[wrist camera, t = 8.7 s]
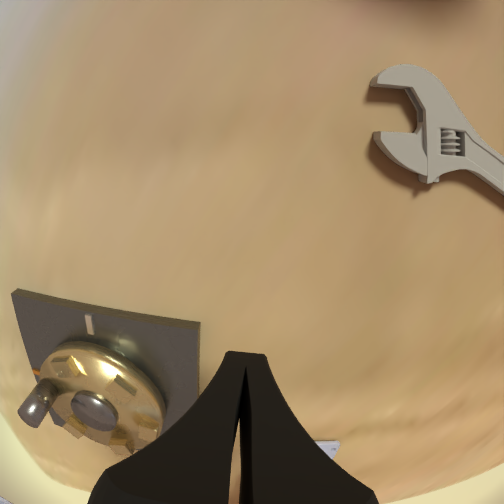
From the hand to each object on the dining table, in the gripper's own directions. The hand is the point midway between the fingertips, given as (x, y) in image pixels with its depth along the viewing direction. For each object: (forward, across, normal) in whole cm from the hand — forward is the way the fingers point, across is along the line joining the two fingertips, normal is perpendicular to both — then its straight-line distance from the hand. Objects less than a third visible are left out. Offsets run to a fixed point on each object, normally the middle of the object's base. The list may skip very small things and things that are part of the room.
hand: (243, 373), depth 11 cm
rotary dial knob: (+8, +11, +12) cm, 18 cm away
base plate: (+9, +11, +12) cm, 19 cm away
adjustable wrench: (+10, -18, -8) cm, 22 cm away
